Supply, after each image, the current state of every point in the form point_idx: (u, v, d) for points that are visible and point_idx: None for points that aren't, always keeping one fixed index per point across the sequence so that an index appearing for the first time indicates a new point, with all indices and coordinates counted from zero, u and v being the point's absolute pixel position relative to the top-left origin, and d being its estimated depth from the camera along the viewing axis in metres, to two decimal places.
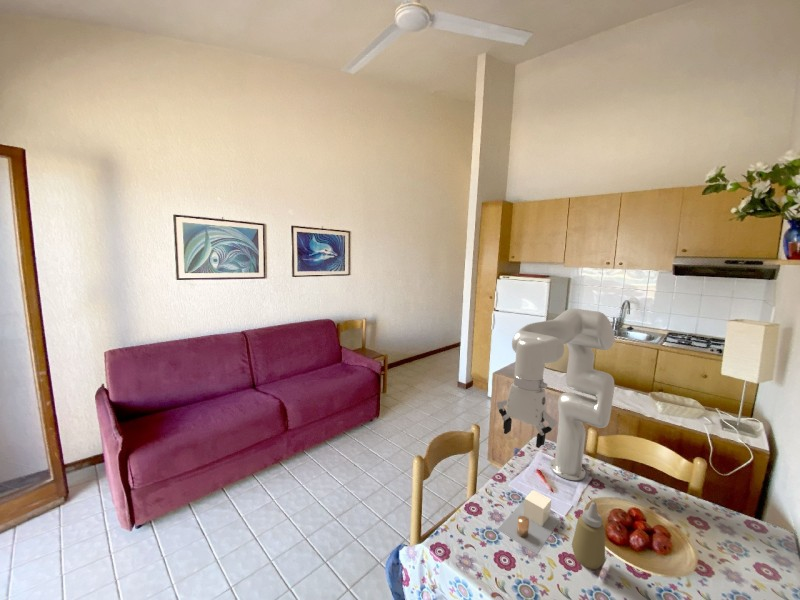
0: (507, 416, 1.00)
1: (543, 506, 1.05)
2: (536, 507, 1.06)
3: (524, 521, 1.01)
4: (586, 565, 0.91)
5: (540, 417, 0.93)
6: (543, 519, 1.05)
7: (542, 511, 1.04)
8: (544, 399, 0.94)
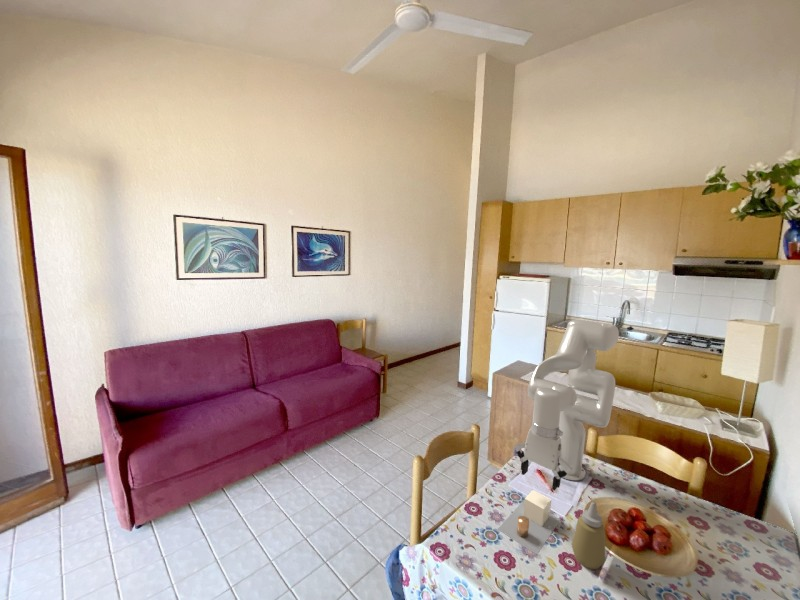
0: (525, 458, 1.08)
1: (543, 506, 1.05)
2: (536, 507, 1.06)
3: (524, 521, 1.01)
4: (586, 565, 0.91)
5: (556, 462, 1.01)
6: (543, 519, 1.05)
7: (542, 511, 1.04)
8: (560, 445, 1.03)
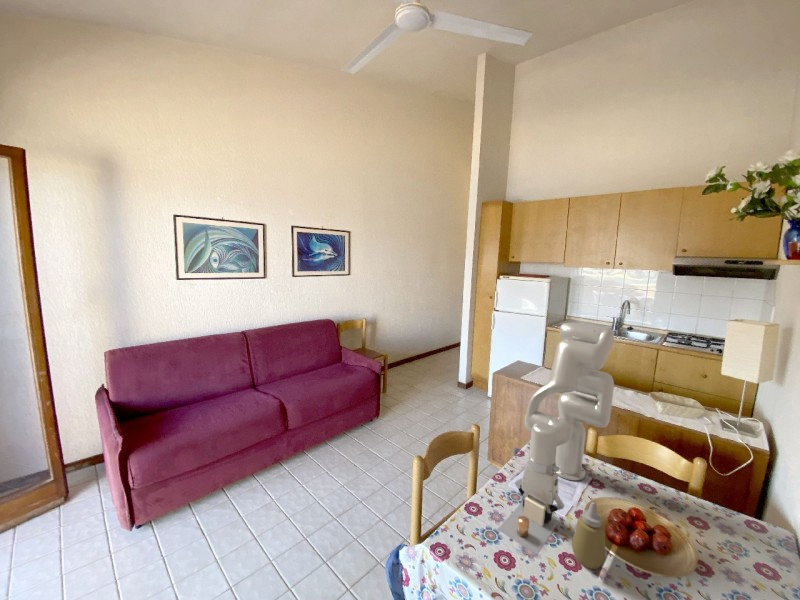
0: (525, 495, 1.10)
1: (543, 506, 1.05)
2: (536, 507, 1.06)
3: (524, 521, 1.01)
4: (586, 565, 0.91)
5: (553, 497, 1.03)
6: (543, 519, 1.05)
7: (542, 511, 1.04)
8: (556, 480, 1.05)
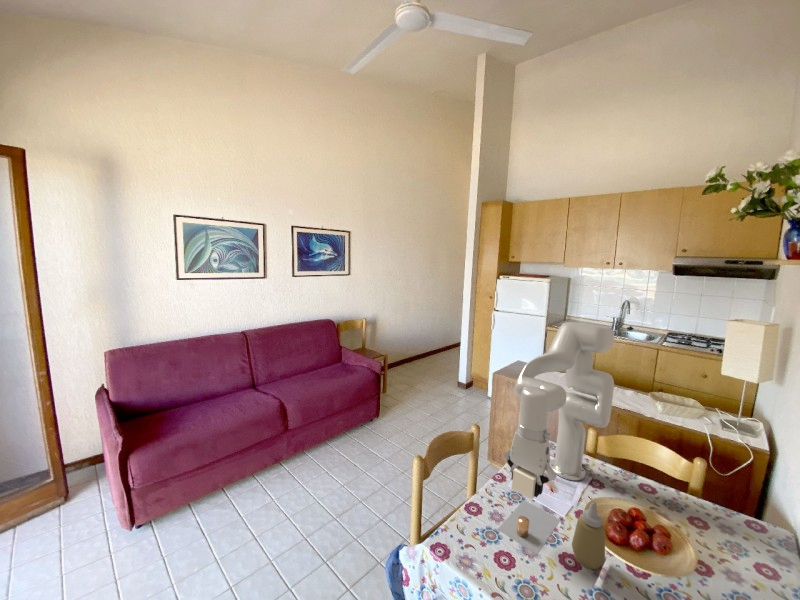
0: (514, 466, 1.00)
1: (533, 477, 0.96)
2: (525, 478, 0.96)
3: (524, 521, 1.01)
4: (586, 565, 0.91)
5: (544, 467, 0.94)
6: (533, 492, 0.96)
7: (532, 482, 0.95)
8: (548, 448, 0.95)
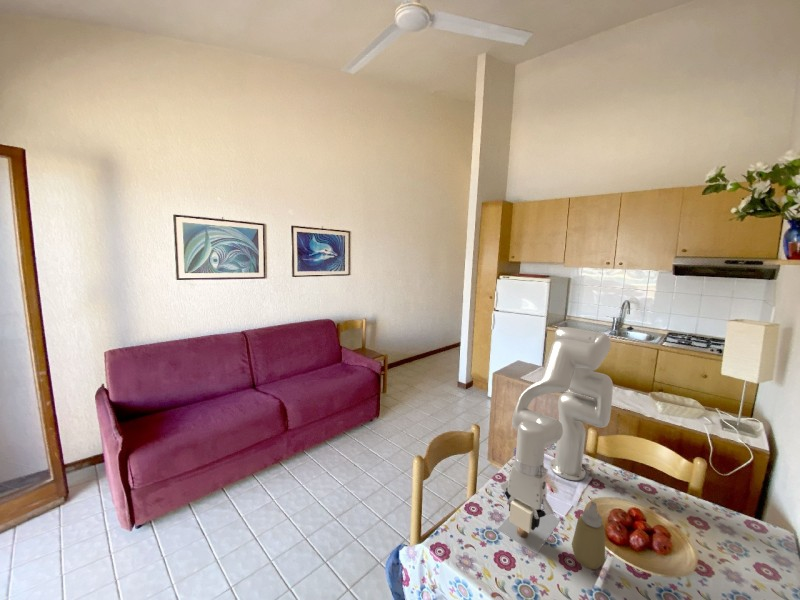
0: (512, 499, 1.02)
1: (530, 511, 0.97)
2: (522, 512, 0.98)
3: None
4: (586, 565, 0.91)
5: (540, 501, 0.95)
6: (530, 525, 0.97)
7: (529, 516, 0.97)
8: (544, 483, 0.97)
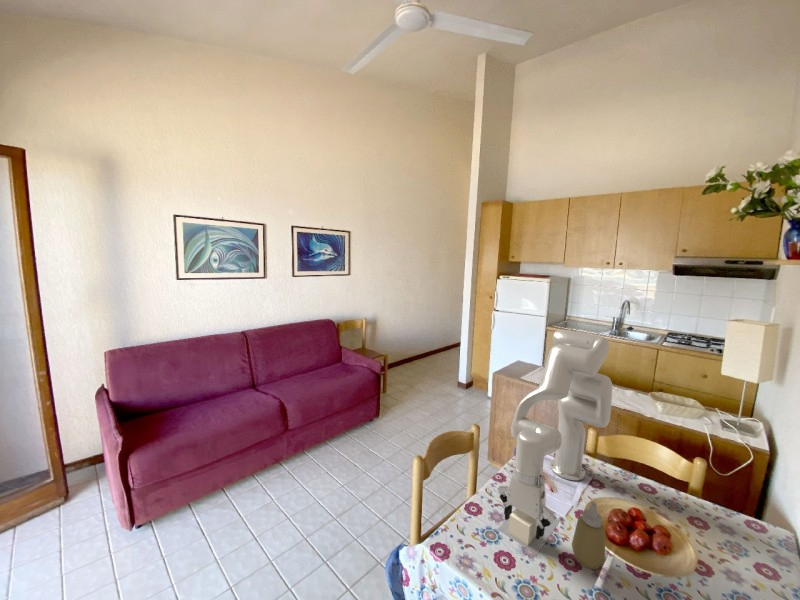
0: (508, 503, 1.03)
1: (529, 524, 0.98)
2: (521, 525, 0.99)
3: None
4: (586, 565, 0.91)
5: (540, 511, 0.96)
6: (529, 538, 0.98)
7: (528, 529, 0.97)
8: (543, 492, 0.97)
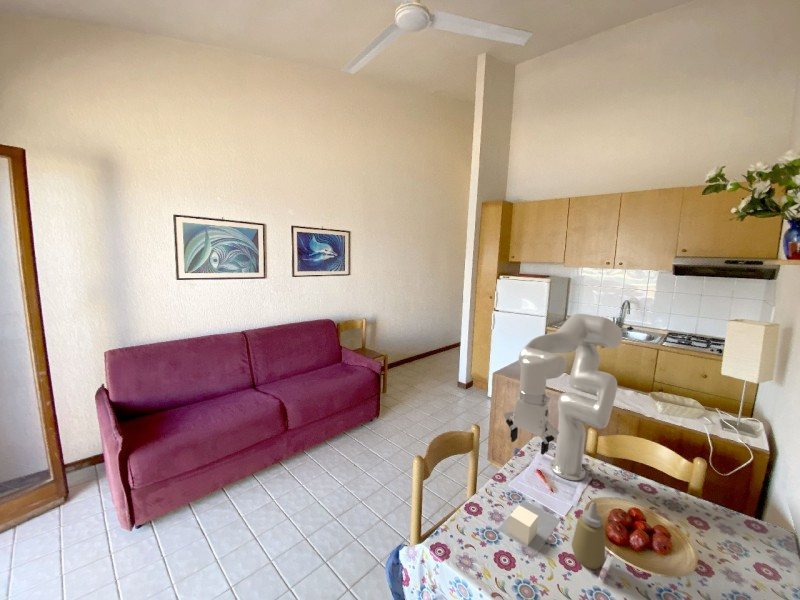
0: (514, 426, 1.10)
1: (529, 524, 0.98)
2: (521, 525, 0.99)
3: None
4: (586, 565, 0.91)
5: (544, 428, 1.03)
6: (529, 538, 0.98)
7: (528, 529, 0.97)
8: (547, 411, 1.04)
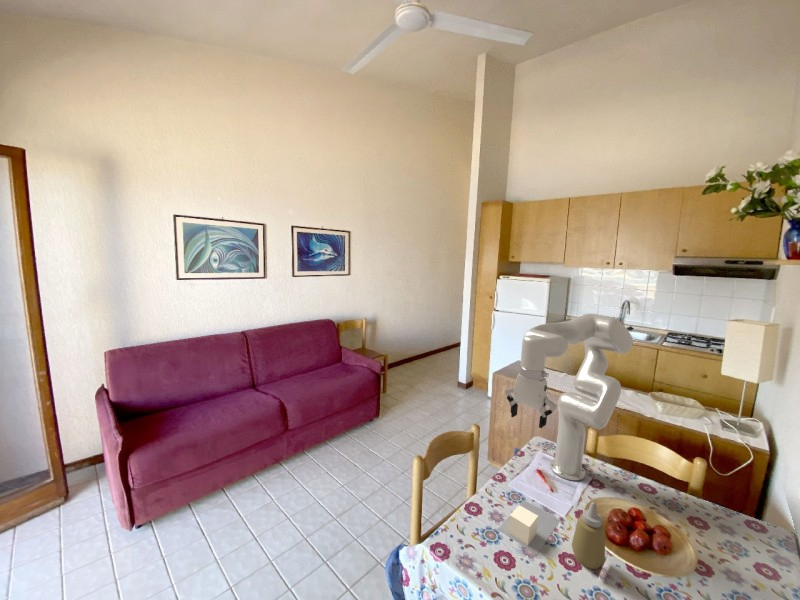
0: (514, 402, 1.16)
1: (529, 524, 0.98)
2: (521, 525, 0.99)
3: None
4: (586, 565, 0.91)
5: (542, 402, 1.09)
6: (529, 538, 0.98)
7: (528, 529, 0.97)
8: (546, 387, 1.11)
